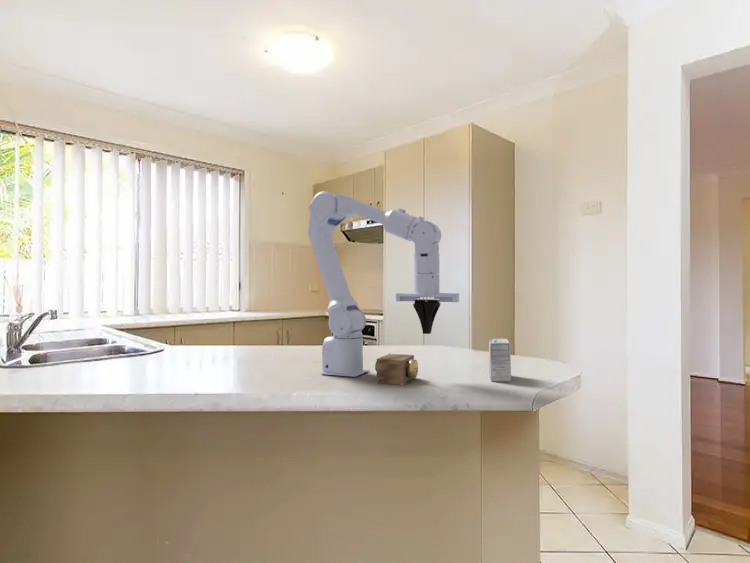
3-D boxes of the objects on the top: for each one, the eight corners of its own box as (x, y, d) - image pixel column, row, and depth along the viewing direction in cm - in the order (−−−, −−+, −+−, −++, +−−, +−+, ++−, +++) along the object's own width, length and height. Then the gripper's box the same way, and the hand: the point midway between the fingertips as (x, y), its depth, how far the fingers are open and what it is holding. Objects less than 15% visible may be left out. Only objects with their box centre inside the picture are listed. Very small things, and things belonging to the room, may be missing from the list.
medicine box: (511, 382, 103) (510, 343, 103) (490, 381, 104) (489, 342, 104) (508, 375, 111) (508, 338, 111) (488, 374, 112) (488, 338, 112)
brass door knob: (373, 376, 107) (373, 359, 107) (380, 373, 110) (380, 356, 110) (412, 379, 103) (412, 361, 103) (418, 376, 107) (417, 358, 107)
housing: (376, 382, 104) (376, 359, 104) (389, 375, 112) (389, 353, 112) (402, 384, 102) (402, 360, 102) (414, 377, 109) (413, 355, 109)
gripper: (390, 274, 107) (391, 333, 108) (453, 273, 102) (453, 336, 102) (401, 274, 114) (402, 330, 114) (461, 273, 108) (461, 333, 108)
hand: (427, 333), depth 108 cm, fingers closed
